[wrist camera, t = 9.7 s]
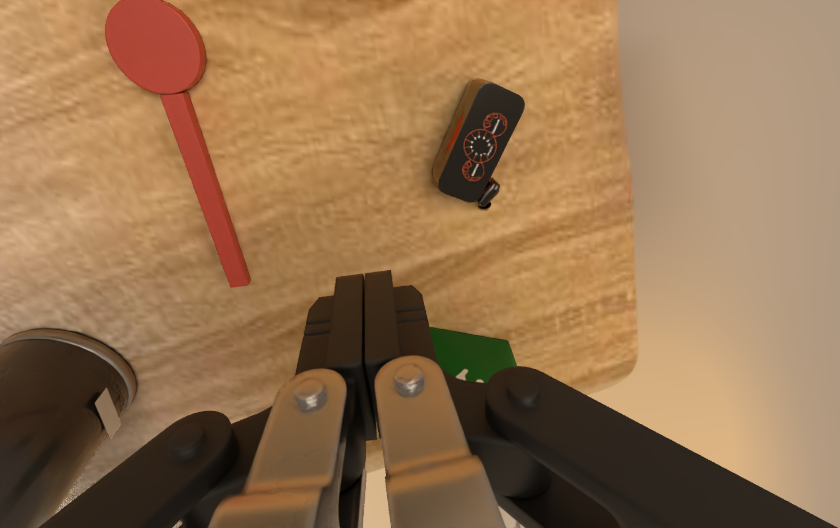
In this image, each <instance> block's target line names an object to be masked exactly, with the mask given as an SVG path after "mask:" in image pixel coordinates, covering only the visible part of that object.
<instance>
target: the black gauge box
mask: <svg viewBox="0 0 840 528" xmlns="http://www.w3.org/2000/svg"><path fill="white" fill-rule="evenodd" d="M524 108H525V103H524V100H523V98H522V97H521V96H519V95H518V94H516V93H513V92H511V91H509V90H507V89H505V88H503V87H501V86H499V85H497V84H494V83H492V82H489V81H486V80H483V79H480V78H477V79H474V80H472V81H471V82H469V84H468V86H467V88H466V90H465V93H464V95H463V97H462V100H461V102H460V104H459V107H458V109H457V111H456V114H455V116H454V118H453V121H452V123H451V125H450V128H449V130H448V132H447V135H446V137H445V140H444V142H443V144H442V147H441V149H440V151H439V154H438V156H437V158H436V161H435V163H434V165H433V168H432V174H433V176H434V178H435V181H436V183H437V185H438V187H439V189H440V191H441V192H443V193H445V194H447V195H450V196H453V197H455V198H458V199H461V200H463V201H466V202H475V203H477V204H478V207H479V208H480V209H482V210H485V211H486V210H488V209H489V208H490V206H491V202H490V201H491V200H492V199H493V198H494V197H495V196H496V195H497V194H498V192H499V188H500V185H499V183H498V182H497V181H496V180H495V179H494V178H490V177H491V175H492V173H493V171H494V169H495V167H496V165H497V163H498V161H499V159H500V157H501V155H502V153H503V151H504V149H505V147H506V145H507V143H508V141H509V139H510V137H511V135H512V133H513V131H514V129H515V127H516V125H517V123H518V121H519V119H520V117H521V115H522V113H523V111H524Z"/></svg>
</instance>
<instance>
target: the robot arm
mask: <svg viewBox="0 0 840 528" xmlns="http://www.w3.org/2000/svg"><path fill="white" fill-rule="evenodd" d="M135 393H136V381H135V377H134V375H133V373H132V371H131V369H130V368H129V366H128V365H127V363H126V362H125V361H124V360H123V359H122V358H121V357H120V356H119V355H118V354H116V353H115V352H114V351H112V350H111V349H110V348H108V347H106V346H105V345H103V344H101V343H99V342H97V341H95V340H93V339H91V338H88V337H86V336H83V335H80V334H76V333H72V332H67V331H62V330H53V329H38V330H30V331H25V332H21V333H18V334H15V335H13V336H11V337H9V338H8V339H6V340H5V341H3V342H2V343H1V344H0V528H172V527H173V526H174V525H175V524H176V523H177V522H178V521H179V520H180V521H181V522H182V525H181V526H180V527H179V528H363V515H364V502H365V488H366V468H365V462H366V441H369V440H375V439H377V427H378V432H379V437H380V439H381V440H382V447H383V455H384V463H385V471H386V477H385V480H386V481H385V482H386V491H387V499H388V507H389V515H390V522H391V528H506V526H505V523H504V521H503V518H502V515H501V512H500V510H499V507H500V508H502V509H503V510H504V511H505V512H506V513H508V514H509V515H510V516H511V517H512V518H514V519H515V520H516V521H517V522H518V523H520V524H521V525H522V526H523V527H525V528H837V527H835V526H833V525H832V524H830V523H828V522H826V521H824V520H822V519H820V518H818V517H816V516H814V515H813V514H810V513H809V512H807V511H805V510H803V509H801V508H799V507H797V506H796V505H793V504H792V503H790V502H788V501H786V500H784V499H782V498H780V497H778V496H777V495H775V494H773V493H771V492H769V491H767V490H765V489H763V488H761V487H759V486H757V485H756V484H754V483H752V482H750V481H748V480H746V479H744V478H742V477H740V476H739V475H737V474H735V473H733V472H731V471H729V470H727V469H725V468H723V467H721V466H720V465H718V464H716V463H714V462H712V461H710V460H708V459H706V458H704V457H702V456H701V455H699V454H697V453H695V452H693V451H691V450H689V449H687V448H685V447H683V446H682V445H680V444H678V443H676V442H674V441H672V440H670V439H668V438H666V437H664V436H663V435H661V434H659V433H656V432H655V431H653V430H651V429H649V428H647V427H645V426H643V425H642V424H639V423H638V422H636V421H634V420H632V419H630V418H628V417H626V416H625V415H623V414H621V413H619V412H617V411H615V410H613V409H611V408H609V407H607V406H606V405H603V404H602V403H600V402H598V401H596V400H594V399H592V398H590V397H588V396H587V395H585V394H583V393H581V392H579V391H577V390H575V389H573V388H571V387H569V386H568V385H566V384H564V383H562V382H560V381H558V380H556V379H554V378H552V377H550V376H549V375H547V374H545V373H543V372H541V371H538V370H536V369H533V368H529V367H521V366H515V367H508V368H504V369H502V370H500V371H498V372H496V373H495V374H493V375H492V376H491V378H490V379H489V380H488V382H487V383H481V382H473V381H466V380H462V379H459V378H456V377H454V376H452V375H450V374H448V373H447V372H446V371H445V370H443V369H442V367H441V366H440V365H439V363H438V361H437V358H436V354H435V350H434V345H433V341H432V337H431V332H430V328H429V323H428V319H427V315H426V310H425V306H424V302H423V297H422V294H421V293H420V292H419V291H418V290H417V289H416V288H415V287H413V286H412V285H409V286H401V287H393V282H392V274H391V270H387V271H379V272H371V273H365V279H364V275H363V274H357V275H349V276H341V277H337V278H336V283H335V291H334V295H333V296H326V297H319V298H318V299H317V301H316V302H315V303H314V304H313V305H312V307H311V308H310V309H309V312H308V316H307V321H306V326H305V330H304V336H303V340H302V345H301V349H300V354H299V359H298V363H297V368H296V373H295V376H294V377H293V378H291V379H290V380H288V381H287V382H286V383H285V384H284V385H283V386H282V387H281V388H280V390H279V391H278V393H277V395H276V398H275V400H274V403H273V406H271V407H269V408H268V409H266V410H264V411H262V412H260V413H258V414H255V415H253V416H250V417H248V418H245V419H243V420H240V421H238V422H235V423H233V424H231V423H230V421H229V419H228V418H227V417H226V416H225V415H224V414H222V413H220V412H216V411H202V412H198V413H194V414H191V415H188V416H186V417H184V418H182V419H180V420H178V421H176V422H175V423H173V424H172V425H170V426H169V427H168V428H166V429H165V430H164V431H162V432H161V433H160V434H158V435H157V436H156V437H155V438H153V439H152V440H151V441H149V442H148V443H147V444H146V445H144V446H143V447H142V448H140V449H139V450H138V451H137V452H135V453H134V454H133V455H131V456H130V457H129V458H127V459H126V460H125V461H124V462H122V463H121V464H120V465H118V466H117V467H116V468H115V469H113V470H112V471H111V472H109V473H108V474H107V475H105V476H104V477H103V478H102V479H100V480H99V481H98V482H96V483H95V484H94V485H93V486H91V487H90V488H89V489H87V490H86V491H85V492H84V493H82V494H81V495H80V496H78V497H77V498H76V499H74V500H73V501H72V502H71V503H69V504H68V505H67V506H65V507H64V508H63V509H62V510H60V511H59V512H58V513H56V514H55V512H56V511H57V509H58V508H59V506H60V505H61V503H62V502H63V500H64V499H65V498H66V496H67V495H68V493H69V492H70V490H71V489H72V487H73V486H74V484H75V483H76V481H77V480H78V478H79V477H80V475H81V474H82V472H83V471H84V469H85V468H86V466H87V465H88V463H89V462H90V460H91V459H92V457H93V456H94V454H95V453H96V451H97V450H98V448H99V447H100V445H101V444H102V442H103V441H104V440H105V438H106V437H107V435H109V437H110V439H112V438H113V436H114V435H115V433H116V431H117V430H118V428H119V427H120V425H121V421H120V419H119V417H120V416H121V415H122V414H123V413H124V412H125V411H126V409H127V408H128V406H129V405H130V403H131V402H132V400H133V398H134V396H135ZM376 422H377V427H376ZM498 506H499V507H498ZM54 514H55V515H54ZM53 515H54V516H53Z"/></svg>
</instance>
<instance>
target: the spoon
mask: <svg viewBox="0 0 840 528" xmlns="http://www.w3.org/2000/svg"><path fill="white" fill-rule="evenodd" d="M105 36H106V42H107V46H108V49H109V52H110V54H111V56H112V58H113V60H114V61H115V63H116V64H117V66H118V67H119V68H120V70H121V71H122V72H123V73H124V74H125V75H126V76H127V77H128V78H129V79H130V80H132V81H133V82H134V83H136V84H137V85H139V86H140V87H142V88H144V89H146V90H149V91H151V92H155V93H159V94H162V95H160V97H161V100H162V102H163V105H164V108H165V110H166V113H167V116H168V119H169V121H170V124H171V127H172V129H173V132H174V135H175V138H176V140H177V143H178V146H179V149H180V151H181V154H182V157H183V159H184V162H185V165H186V168H187V170H188V173H189V176H190V178H191V181H192V184H193V187H194V189H195V192H196V195H197V197H198V200H199V203H200V206H201V208H202V211H203V214H204V216H205V219H206V222H207V225H208V227H209V230H210V233H211V236H212V238H213V241H214V244H215V246H216V249H217V252H218V255H219V257H220V260H221V263H222V265H223V268H224V271H225V274H226V276H227V279H228V282H229V284H230V287H239V286H247V285H248V284H249V282H250V280H251V279H250V276H249V273H248V270H247V267H246V264H245V261H244V258H243V255H242V252H241V249H240V246H239V243H238V240H237V237H236V234H235V231H234V228H233V225H232V222H231V219H230V216H229V213H228V210H227V207H226V204H225V201H224V198H223V195H222V192H221V189H220V186H219V183H218V180H217V177H216V174H215V171H214V168H213V165H212V162H211V159H210V156H209V153H208V150H207V147H206V144H205V141H204V138H203V135H202V132H201V129H200V126H199V123H198V120H197V117H196V114H195V111H194V108H193V105H192V102H191V99H190V96H189V93H188V92H183V91H186V90H188V89H190V88H192V87H193V86H194V85H196V84H197V83H198V82H199V80H200V79H201V77H202V75H203V73H204V69H205V64H206V53H205V48H204V44H203V41H202V38H201V36H200V34H199V32H198V30H197V29H196V27H195V25H194V24H193V23H192V22H191V20H190V19H189V18H188V17H187V16H186V15H185V14H184V13H183V12H182V11H180V10H179V9H178V8H176V7H175V6H173V5H171V4H170V3H168V2H165V1H163V0H121V1H119V2H118V3H117V4H116V5H115V6H114V7H113V8H112V9H111V11H110V13H109V14H108V17H107V20H106V25H105Z"/></svg>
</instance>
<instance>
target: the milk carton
mask: <svg viewBox="0 0 840 528" xmlns="http://www.w3.org/2000/svg"><path fill="white" fill-rule="evenodd" d="M429 328H430V332H431V337H432V341H433V345H434V350H435V354H436V358H437V361H438V363H439V365H440V366H441V367H442V369H443V370H445V371H446V372H447V373H448V374H450V375H452V376H454V377H456V378H459V379H462V380H466V381H473V382H481V383H487V382H488V380H489V379H490V378H491V376H492V375H493V374H495V373H496V372H498V371H500V370H502V369H504V368H508V367H515V366H517V364H516V362H515V359H514V356H513V353H512V350H511V347H510V344H509V342H508V341H505V340H499V339H494V338H488V337H482V336H476V335H471V334H465V333H459V332H454V331H448V330H442V329H437V328H431V327H429ZM498 507H499V506H498ZM499 510H500V512H501V515H502V518H503V521H504V523H505V526H506V528H525V527H523V526H522V525H521V524H520V523H518V522H517V521H516V520H515V519H514V518H512V517H511V516H510V515H509V514H508V513H506V512H505V511H504V510H503V509H502V508H500V507H499Z"/></svg>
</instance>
